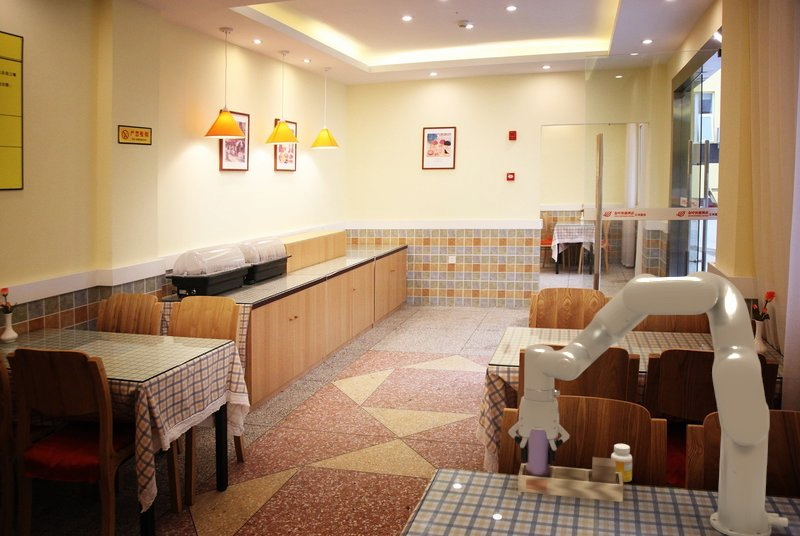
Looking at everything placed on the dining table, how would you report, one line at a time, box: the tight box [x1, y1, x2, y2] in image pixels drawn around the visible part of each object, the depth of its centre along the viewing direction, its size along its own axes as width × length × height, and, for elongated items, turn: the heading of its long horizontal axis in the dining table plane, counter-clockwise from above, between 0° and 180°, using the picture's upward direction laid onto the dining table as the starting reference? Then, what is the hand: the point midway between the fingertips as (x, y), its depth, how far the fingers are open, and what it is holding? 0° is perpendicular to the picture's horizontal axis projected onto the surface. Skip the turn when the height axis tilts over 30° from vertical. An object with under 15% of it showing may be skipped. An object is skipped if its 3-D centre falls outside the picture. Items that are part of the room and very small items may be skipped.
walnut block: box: [591, 456, 616, 484], centre depth 178 cm, size 6×6×8 cm
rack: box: [517, 462, 624, 503], centre depth 180 cm, size 25×9×5 cm, turn 75°
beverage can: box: [525, 427, 551, 478], centre depth 182 cm, size 6×6×15 cm
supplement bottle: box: [610, 443, 633, 483], centre depth 187 cm, size 5×5×10 cm
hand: (538, 461), depth 182 cm, fingers closed on beverage can, 5 cm apart
